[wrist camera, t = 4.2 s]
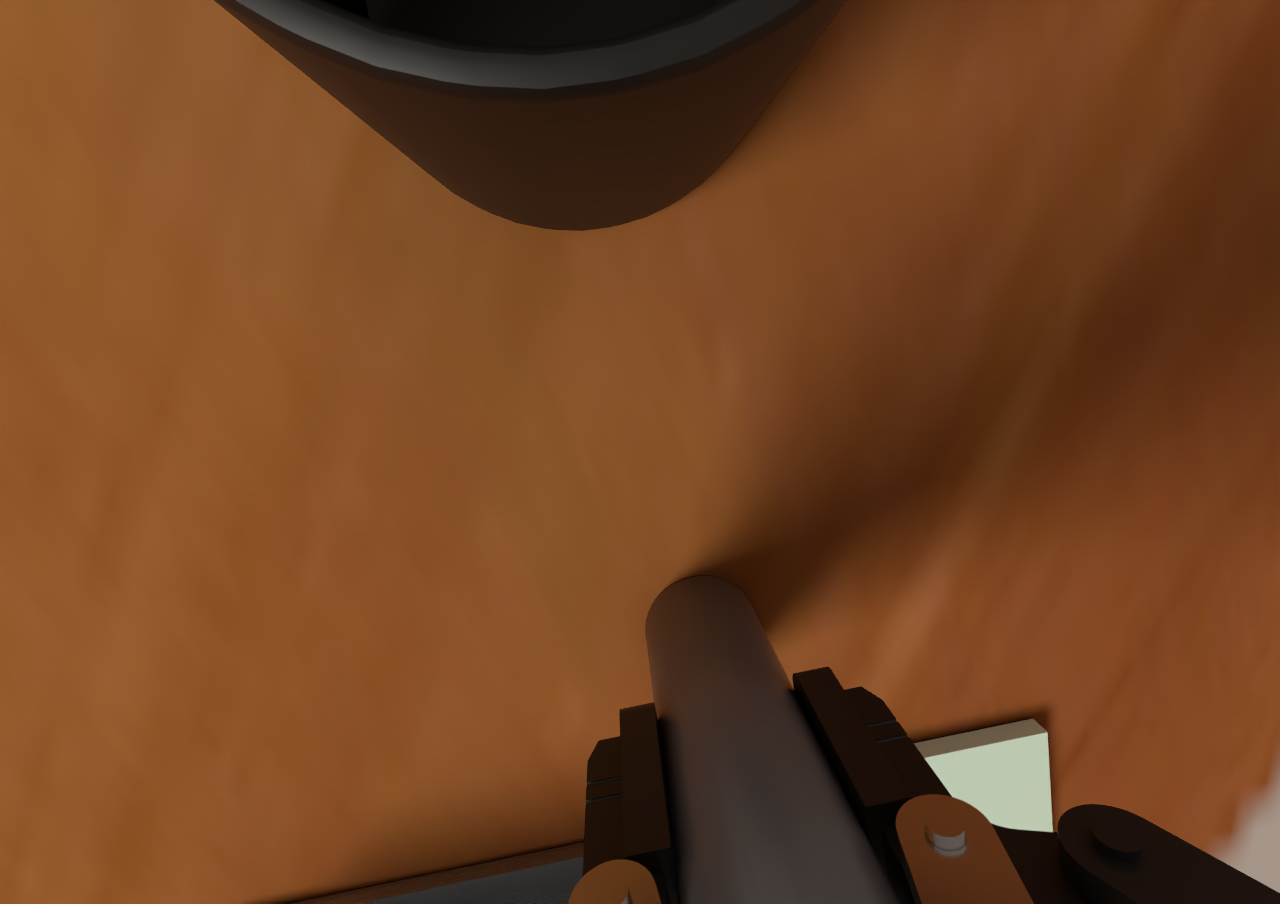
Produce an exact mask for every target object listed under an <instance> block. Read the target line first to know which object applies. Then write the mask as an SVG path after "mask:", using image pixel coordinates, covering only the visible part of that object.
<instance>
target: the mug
mask: <svg viewBox="0 0 1280 904" xmlns="http://www.w3.org/2000/svg"><path fill="white" fill-rule="evenodd" d="M214 1H215V2H217V3H218V4H219V5H220V6H222V7H223V8H224V9H225V10H227V11H228V12H229V13H230V14H232V15H233V16H234V17H235V18H237V19H238V20H239V21H240V22H241V23H243V24H244V25H245V26H246V27H248V28H249V29H250V30H251V31H253V32H254V33H255V34H256V35H258V36H259V37H260V38H261V39H263V40H264V41H265V42H266V43H267V44H269V45H270V46H271V47H272V48H274V49H275V50H276V51H277V52H279V53H280V54H281V55H282V56H284V57H285V58H286V59H287V60H289V61H290V62H291V63H292V64H294V65H295V66H296V67H297V68H298V69H300V70H301V71H302V72H303V73H305V74H306V75H307V76H308V77H310V78H311V79H312V80H313V81H315V82H316V83H317V84H318V85H320V86H321V87H322V88H323V89H324V90H326V91H327V92H328V93H329V94H331V95H332V96H333V97H334V98H336V99H337V100H338V101H339V102H341V103H342V104H343V105H344V106H346V107H347V108H348V109H349V110H350V111H352V112H353V113H354V114H355V115H357V116H358V117H359V118H360V119H362V120H363V121H364V122H365V123H367V124H368V125H369V126H370V127H372V128H373V129H374V130H375V131H376V132H378V133H379V134H380V135H381V136H383V137H384V138H385V139H386V140H388V141H389V142H390V143H391V144H393V145H394V146H395V147H396V148H398V149H399V150H400V151H401V152H402V153H404V154H405V155H406V156H407V157H409V158H410V159H411V160H412V161H414V162H415V163H416V164H417V165H419V166H420V167H421V168H422V169H424V170H425V171H426V172H427V173H428V174H430V175H431V176H432V177H434V178H435V179H436V180H437V181H439V182H440V183H441V184H442V185H444V186H445V187H446V188H448V189H449V190H450V191H451V192H453V193H454V194H456V195H458V196H459V197H461V198H463V199H465V200H466V201H468V202H470V203H472V204H473V205H475V206H477V207H479V208H481V209H483V210H485V211H487V212H490V213H492V214H495V215H497V216H500V217H503V218H505V219H508V220H511V221H513V222H516V223H520V224H525V225H530V226H535V227H540V228H546V229H554V230H579V231H584V230H591V229H599V228H607V227H612V226H617V225H621V224H624V223H628V222H631V221H634V220H638V219H641V218H644V217H647V216H649V215H651V214H653V213H655V212H657V211H659V210H661V209H663V208H665V207H667V206H669V205H671V204H673V203H674V202H676V201H678V200H679V199H681V198H682V197H684V196H685V195H687V194H688V193H689V192H691V191H692V190H694V189H695V188H696V187H698V186H699V185H700V184H702V183H703V182H704V181H705V180H706V179H707V178H708V177H709V176H710V175H711V174H712V173H713V172H714V171H715V170H716V169H717V168H718V167H719V166H720V165H721V164H722V163H723V162H724V161H725V160H726V159H727V158H728V157H729V155H730V154H731V153H732V152H733V150H734V149H735V148H736V146H737V145H738V144H739V142H740V141H741V140H742V138H743V137H744V136H745V134H746V133H747V132H748V130H749V129H750V128H751V126H752V125H753V124H754V123H755V121H756V120H757V119H758V117H759V116H760V115H761V113H762V112H763V111H764V109H765V108H766V107H767V105H768V104H769V103H770V101H771V100H772V99H773V97H774V96H775V95H776V93H777V92H778V91H779V89H780V88H781V87H782V85H783V84H784V83H785V81H786V80H787V79H788V77H789V76H790V75H791V73H792V72H793V71H794V69H795V68H796V67H797V65H798V64H799V63H800V61H801V60H802V59H803V57H804V56H805V55H806V53H807V52H808V51H809V49H810V48H811V47H812V45H813V44H814V43H815V41H816V40H817V39H818V37H819V36H820V35H821V33H822V32H823V31H824V29H825V28H826V27H827V25H828V24H829V23H830V22H831V20H832V19H833V18H834V16H835V15H836V14H837V12H838V11H839V10H840V8H841V7H842V6H843V4H844V3H845V2H846V0H214Z"/></svg>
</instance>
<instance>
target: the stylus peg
mask: <svg viewBox="0 0 1280 904" xmlns="http://www.w3.org/2000/svg"><path fill="white" fill-rule="evenodd" d="M646 640H647V648H648V656H649V664H650V673H651V681H652V689H653V697H654V704H655V708H656V712H657V717H658V723H659V731H660V739H661V747H662V755H663V762H664V770H665V778H666V786H667V794H668V802H669V810H670V818H671V826H672V834H673V841H674V849H675V857H676V865H677V873H678V881H679V885H678V904H901V902H900V900H899V898H898V896H897V894H896V892H895V890H894V888H893V886H892V884H891V882H890V881H889V879H888V877H887V875H886V873H885V871H884V869H883V867H882V865H881V863H880V861H879V859H878V857H877V855H876V853H875V851H874V849H873V847H872V845H871V843H870V841H869V839H868V837H867V835H866V833H865V831H864V829H863V827H862V825H861V823H860V821H859V819H858V817H857V815H856V813H855V811H854V809H853V807H852V805H851V803H850V801H849V799H848V797H847V795H846V793H845V791H844V789H843V787H842V785H841V783H840V781H839V779H838V777H837V775H836V773H835V771H834V769H833V767H832V765H831V763H830V761H829V759H828V757H827V755H826V753H825V751H824V749H823V747H822V745H821V743H820V741H819V739H818V737H817V735H816V733H815V731H814V729H813V727H812V725H811V723H810V721H809V719H808V717H807V715H806V714H805V712H804V710H803V708H802V706H801V704H800V702H799V700H798V698H797V696H796V694H795V692H794V689H793V687H792V685H791V683H790V681H789V679H788V677H787V675H786V673H785V671H784V669H783V667H782V665H781V663H780V661H779V659H778V657H777V655H776V653H775V651H774V649H773V647H772V645H771V643H770V641H769V639H768V637H767V635H766V633H765V631H764V629H763V627H762V625H761V623H760V621H759V619H758V617H757V615H756V613H755V611H754V609H753V607H752V605H751V603H750V602H749V600H748V598H747V597H746V596H745V594H744V593H743V592H742V591H741V590H740V589H739V588H738V587H736V586H735V585H733V584H732V583H730V582H728V581H726V580H723V579H721V578H717V577H712V576H695V577H689V578H685V579H682V580H680V581H678V582H676V583H674V584H672V585H670V586H669V587H668V588H666V589H665V590H664V591H663V592H662V593H661V594H660V595H659V596H658V597H657V598H656V599H655V601H654V602H653V604H652V606H651V608H650V610H649V612H648V616H647V619H646Z"/></svg>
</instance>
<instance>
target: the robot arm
mask: <svg viewBox="0 0 1280 904" xmlns="http://www.w3.org/2000/svg"><path fill="white" fill-rule="evenodd" d="M793 686H794V692H795V694H796V696H797V698H798V700H799V702H800V704H801V706H802V708H803V710H804V712H805V714H806V715H807V717H808V719H809V721H810V723H811V725H812V727H813V729H814V731H815V733H816V735H817V737H818V739H819V741H820V743H821V745H822V747H823V749H824V751H825V753H826V755H827V757H828V759H829V761H830V763H831V765H832V767H833V769H834V771H835V773H836V775H837V777H838V779H839V781H840V783H841V785H842V787H843V789H844V791H845V793H846V795H847V797H848V799H849V801H850V803H851V805H852V807H853V809H854V811H855V813H856V815H857V817H858V819H859V821H860V823H861V825H862V827H863V829H864V831H865V833H866V835H867V837H868V839H869V841H870V843H871V845H872V847H873V849H874V851H875V853H876V855H877V857H878V859H879V861H880V863H881V865H882V867H883V869H884V871H885V873H886V875H887V877H888V879H889V881H890V882H891V884H892V886H893V888H894V890H895V892H896V894H897V896H898V898H899V900H900V902H901V904H1280V893H1278V892H1276V891H1275V890H1273V889H1271V888H1269V887H1267V886H1266V885H1264V884H1262V883H1260V882H1258V881H1257V880H1255V879H1253V878H1251V877H1249V876H1247V875H1246V874H1244V873H1242V872H1240V871H1238V870H1236V869H1235V868H1233V867H1231V866H1229V865H1227V864H1226V863H1224V862H1222V861H1220V860H1218V859H1216V858H1215V857H1213V856H1211V855H1209V854H1207V853H1206V852H1204V851H1202V850H1200V849H1198V848H1196V847H1195V846H1193V845H1191V844H1189V843H1187V842H1186V841H1184V840H1182V839H1180V838H1178V837H1176V836H1175V835H1173V834H1171V833H1169V832H1167V831H1165V830H1164V829H1162V828H1160V827H1158V826H1156V825H1155V824H1153V823H1151V822H1149V821H1147V820H1145V819H1144V818H1142V817H1140V816H1138V815H1135V814H1133V813H1131V812H1128V811H1126V810H1123V809H1119V808H1116V807H1112V806H1106V805H1097V804H1088V805H1080V806H1076V807H1073V808H1071V809H1069V810H1068V811H1066V812H1065V813H1064V814H1063V815H1062V816H1061V817H1060V820H1059V822H1058V833H1057V832H1044V831H1031V830H1019V829H1011V828H1006V827H1001V826H998V825H995V824H992V823H990V821H989V820H988V819H987V818H986V817H985V816H984V814H982V813H981V812H980V811H979V810H978V809H976V808H975V807H973V806H972V805H970V804H968V803H966V802H964V801H962V800H960V799H957V798H954V797H952V796H951V794H950V793H949V792H948V790H947V789H946V788H945V786H944V785H943V783H942V782H941V781H940V779H939V778H938V776H937V775H936V774H935V772H934V771H933V769H932V768H931V767H930V765H929V764H928V763H927V761H926V760H925V758H924V757H923V756H922V754H921V753H920V751H919V750H918V749H917V747H916V746H915V744H914V743H913V742H912V740H911V739H910V738H908V736H907V733H906V732H905V731H904V729H903V728H902V726H901V725H900V724H899V722H897V721H896V718H895V717H894V715H893V714H892V713H891V711H890V710H889V708H888V707H887V706H886V704H885V703H884V701H883V700H882V699H880V698H878V697H877V696H875V695H874V694H872V693H871V692H869V691H868V690H866V689H864V688H863V687H856V688H851V689H847V690H844V689H843V688H842V686H841V685H840V683H839V681H838V680H837V678H836V677H835V675H834V674H833V672H832V670H831V669H830V668H829V667H823V668H818V669H814V670H809V671H804V672H799V673H794V674H793ZM586 804H587V805H586V812H585V834H584V857H583V875H582V878H581V879H580V880H579V882H578V883H577V885H576V886H575V888H574V890H573V892H572V893H571V896H570V899H569V902H568V904H678V885H679V881H678V873H677V865H676V857H675V849H674V841H673V834H672V826H671V818H670V810H669V802H668V794H667V786H666V778H665V770H664V762H663V755H662V747H661V739H660V731H659V723H658V717H657V712H656V708H655V704H654V702H653V703H648V704H644V705H639V706H634V707H629V708H624V709H620V736H619V737H614V738H610V739H605V740H600V741H598V743H597V745H596V747H595V749H594V750H593V752H592V754H591V756H590V758H589V760H588V766H587V789H586Z"/></svg>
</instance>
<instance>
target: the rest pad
mask: <svg viewBox="0 0 1280 904" xmlns="http://www.w3.org/2000/svg"><path fill="white" fill-rule="evenodd" d="M914 744H915V746H916V747H917V749H918V750H919V751H920V753H921V754H922V756H923V757H924V758H925V760H926V761H927V763H928V764H929V765H930V767H931V768H932V769H933V771H934V772H935V774H936V775H937V776H938V778H939V779H940V781H941V782H942V783H943V785H944V786H945V788H946V789H947V790H948V792H949V793H950V794H951V796H952V797H954V798H957V799H960V800H962V801H964V802H966V803H968V804H970V805H972V806H973V807H975V808H976V809H978V810H979V811H980V812H981V813H982V814H984V816H985V817H986V818H987V819H988V820H989V821H990V823H992V824H995V825H998V826H1001V827H1006V828H1011V829H1019V830H1031V831H1044V832H1053V826H1052V807H1051V788H1050V769H1049V750H1048V732H1047V731H1046V730H1045V729H1044V728H1043V727H1041V726H1040V725H1039V724H1038V723H1037V722H1036V721H1035V720H1034V719H1028V720H1023V721H1018V722H1014V723H1009V724H1004V725H999V726H994V727H990V728H985V729H980V730H975V731H971V732H966V733H961V734H956V735H951V736H947V737H942V738H937V739H932V740H927V741H923V742H918V743H914Z"/></svg>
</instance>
